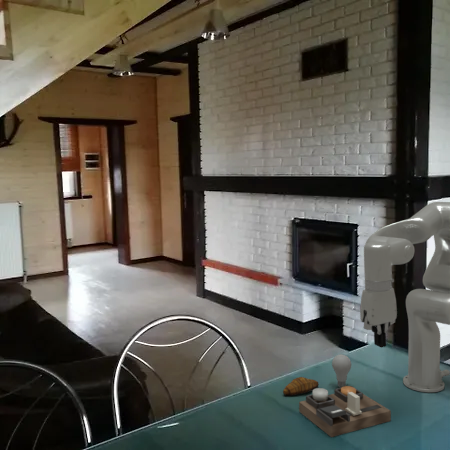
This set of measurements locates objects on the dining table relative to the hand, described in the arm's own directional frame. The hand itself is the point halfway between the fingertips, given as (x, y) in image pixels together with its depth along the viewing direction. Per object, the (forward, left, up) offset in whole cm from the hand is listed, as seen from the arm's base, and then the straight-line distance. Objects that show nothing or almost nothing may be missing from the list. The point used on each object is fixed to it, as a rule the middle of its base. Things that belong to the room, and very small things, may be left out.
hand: (380, 345), depth 147 cm
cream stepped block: (+13, +4, -16) cm, 21 cm away
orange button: (+7, -5, -16) cm, 18 cm away
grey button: (+17, -5, -14) cm, 23 cm away
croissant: (+15, -20, -20) cm, 31 cm away
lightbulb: (+1, -17, -19) cm, 25 cm away
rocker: (+19, +4, -15) cm, 25 cm away
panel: (+12, -1, -19) cm, 23 cm away
